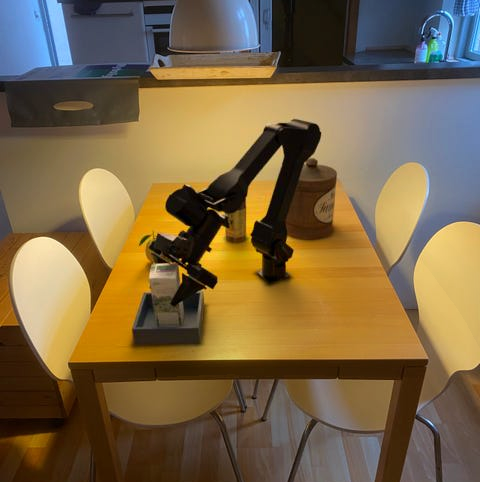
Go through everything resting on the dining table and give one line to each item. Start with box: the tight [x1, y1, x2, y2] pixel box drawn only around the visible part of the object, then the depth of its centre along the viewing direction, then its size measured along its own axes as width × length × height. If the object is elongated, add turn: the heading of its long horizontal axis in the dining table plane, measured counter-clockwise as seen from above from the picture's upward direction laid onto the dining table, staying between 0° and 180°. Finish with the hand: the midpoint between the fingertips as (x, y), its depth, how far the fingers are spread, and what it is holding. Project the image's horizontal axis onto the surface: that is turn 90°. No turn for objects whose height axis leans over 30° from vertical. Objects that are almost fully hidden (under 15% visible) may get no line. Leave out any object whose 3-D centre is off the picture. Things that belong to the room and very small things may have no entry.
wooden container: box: [286, 157, 338, 240], centre depth 140 cm, size 15×15×22 cm
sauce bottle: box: [224, 198, 247, 243], centre depth 136 cm, size 7×6×20 cm
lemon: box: [138, 230, 157, 263], centre depth 127 cm, size 7×6×10 cm
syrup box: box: [148, 262, 184, 327], centre depth 102 cm, size 6×6×14 cm
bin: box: [131, 290, 205, 346], centre depth 105 cm, size 14×14×4 cm
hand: (161, 297), depth 101 cm, fingers closed on syrup box, 8 cm apart
